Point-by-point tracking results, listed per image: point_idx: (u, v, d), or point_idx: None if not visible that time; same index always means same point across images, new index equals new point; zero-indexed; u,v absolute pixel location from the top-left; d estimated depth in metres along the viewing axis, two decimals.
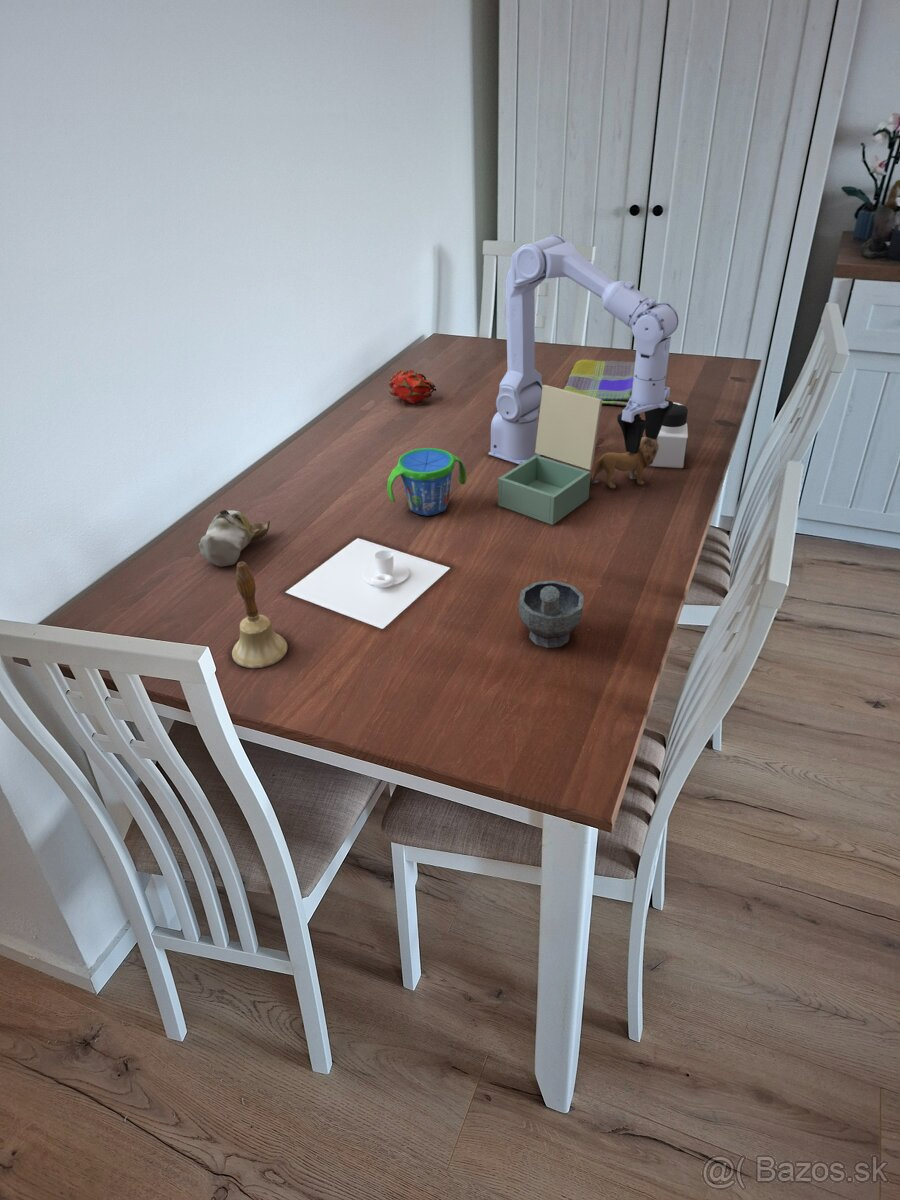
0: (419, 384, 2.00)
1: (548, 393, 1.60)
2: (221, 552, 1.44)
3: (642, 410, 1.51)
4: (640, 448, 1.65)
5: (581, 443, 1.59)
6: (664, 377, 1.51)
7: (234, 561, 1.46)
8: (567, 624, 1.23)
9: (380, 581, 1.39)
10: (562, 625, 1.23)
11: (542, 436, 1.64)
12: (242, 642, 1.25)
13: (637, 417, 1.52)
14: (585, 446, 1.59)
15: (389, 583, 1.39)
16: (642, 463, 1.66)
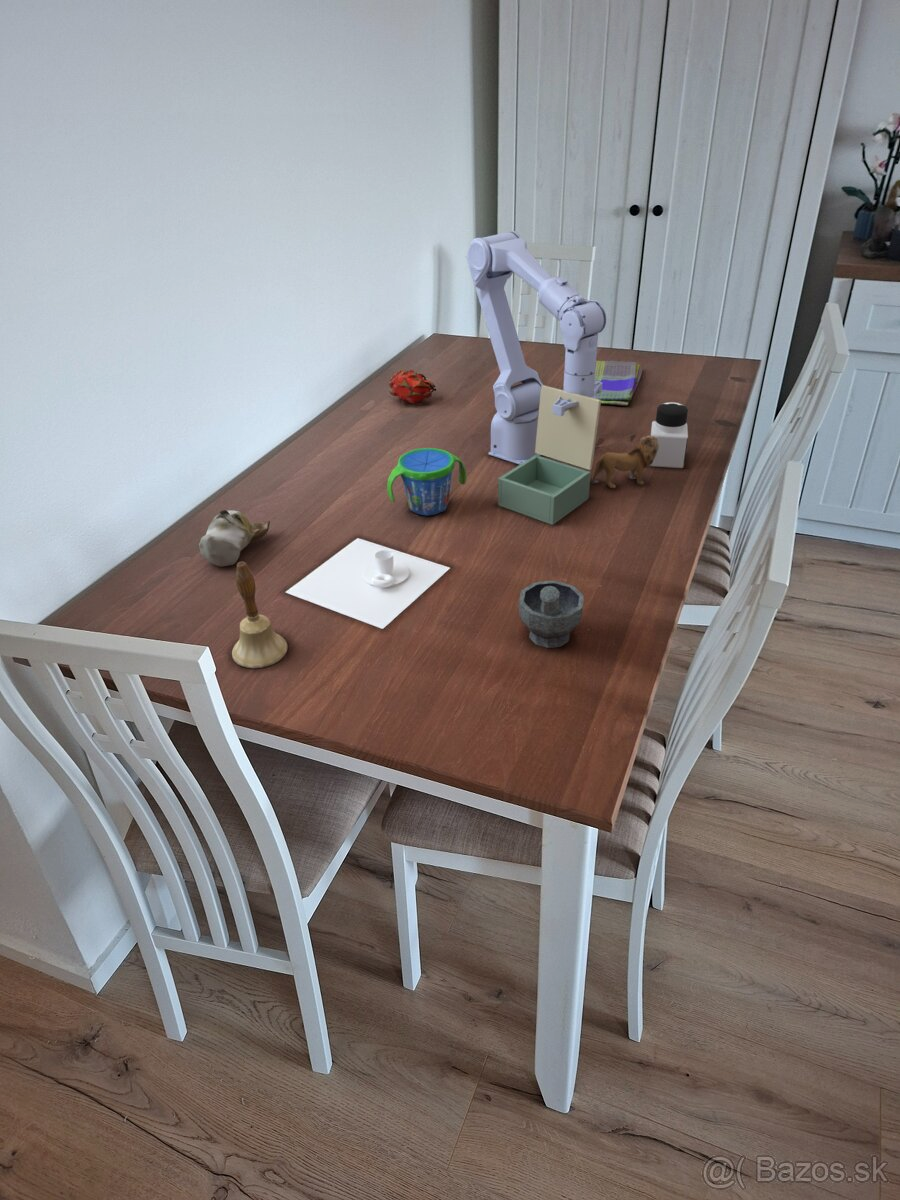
0: (419, 384, 2.00)
1: (547, 394, 1.60)
2: (221, 553, 1.44)
3: (572, 404, 1.56)
4: (640, 448, 1.65)
5: (580, 443, 1.59)
6: (593, 372, 1.55)
7: (234, 561, 1.46)
8: (567, 624, 1.23)
9: (380, 581, 1.39)
10: (562, 625, 1.23)
11: (542, 436, 1.64)
12: (242, 642, 1.25)
13: None
14: (585, 446, 1.59)
15: (389, 583, 1.39)
16: (642, 463, 1.66)
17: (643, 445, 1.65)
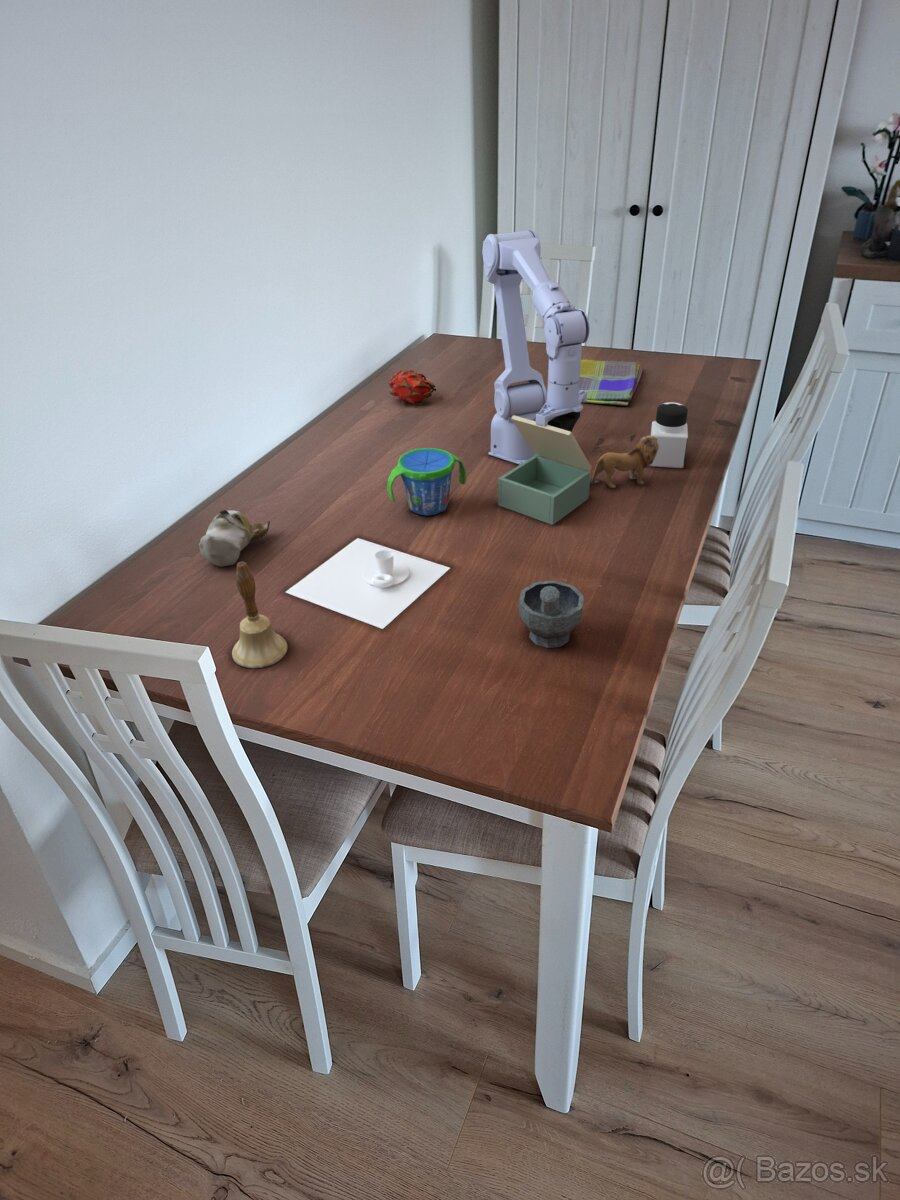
0: (419, 384, 2.00)
1: (520, 423, 1.56)
2: (221, 552, 1.44)
3: (556, 414, 1.52)
4: (640, 448, 1.65)
5: (571, 456, 1.58)
6: (577, 381, 1.52)
7: (234, 561, 1.46)
8: (567, 624, 1.23)
9: (380, 581, 1.39)
10: (562, 625, 1.23)
11: (534, 446, 1.63)
12: (242, 642, 1.25)
13: (562, 415, 1.56)
14: (576, 458, 1.58)
15: (389, 583, 1.39)
16: (642, 463, 1.66)
17: (643, 445, 1.65)
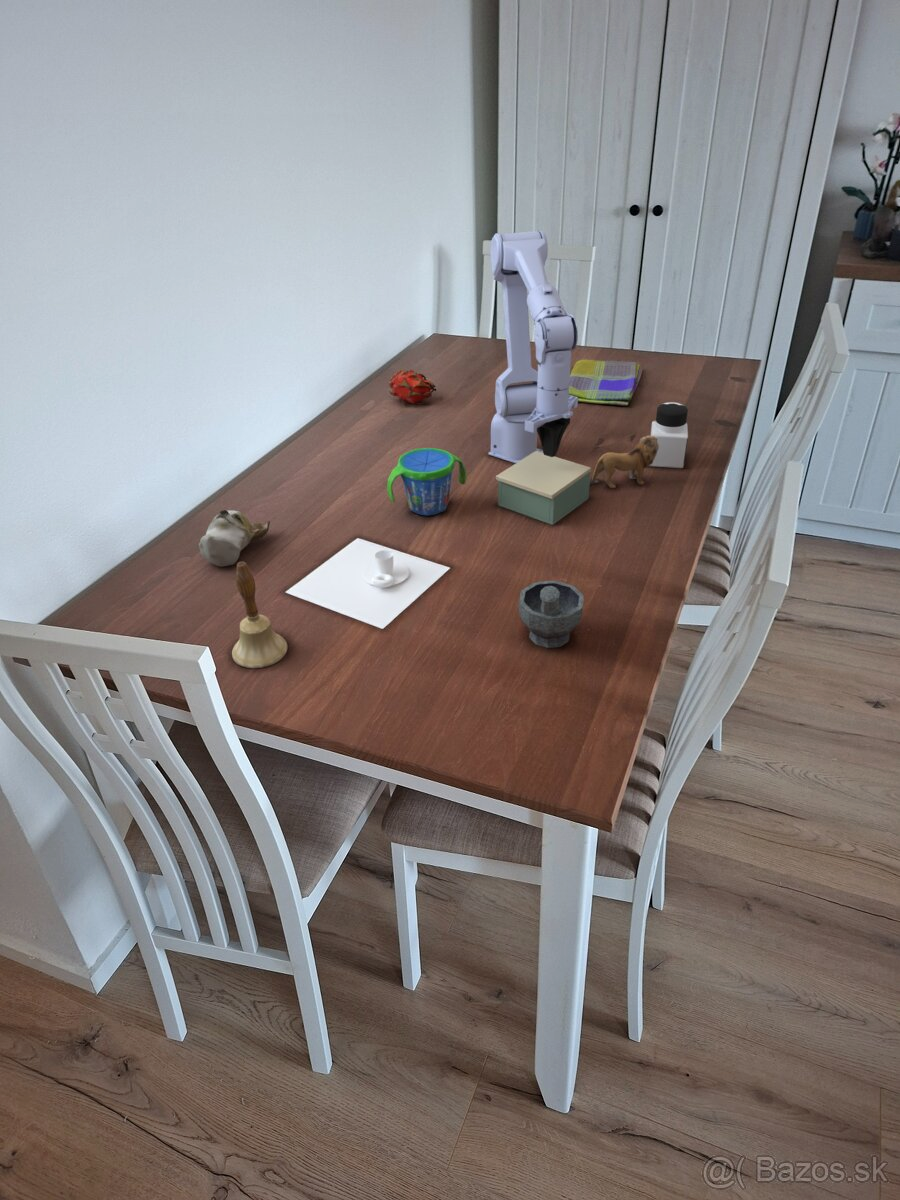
0: (419, 384, 2.00)
1: None
2: (221, 552, 1.44)
3: (545, 420, 1.50)
4: (640, 448, 1.65)
5: None
6: (567, 387, 1.50)
7: (234, 561, 1.46)
8: (567, 624, 1.23)
9: (380, 581, 1.39)
10: (562, 625, 1.23)
11: None
12: (242, 642, 1.25)
13: (551, 421, 1.54)
14: None
15: (389, 583, 1.39)
16: (642, 463, 1.66)
17: (643, 445, 1.65)
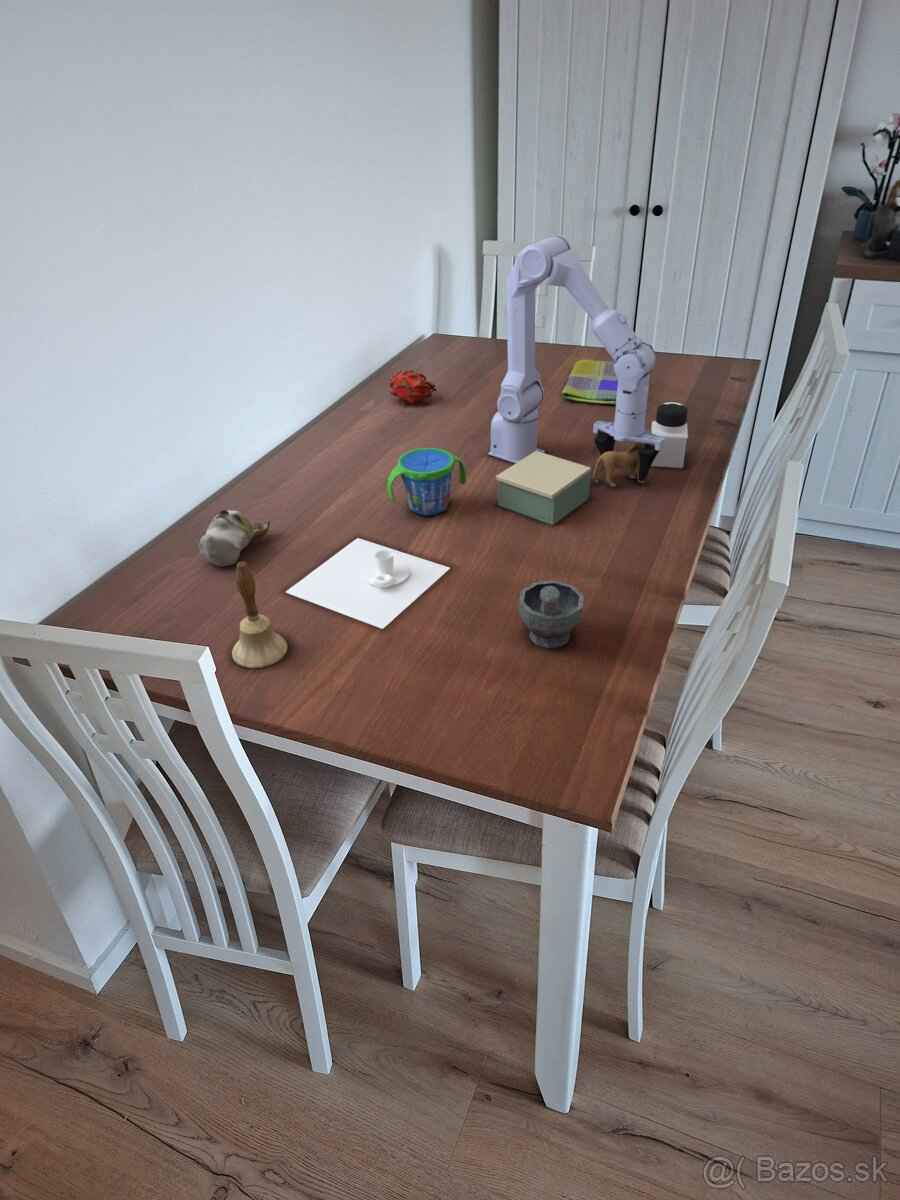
0: (419, 384, 2.00)
1: None
2: (220, 553, 1.44)
3: (603, 429, 1.65)
4: (639, 446, 1.65)
5: None
6: (624, 413, 1.59)
7: (234, 561, 1.46)
8: (567, 624, 1.23)
9: (380, 581, 1.39)
10: (562, 625, 1.23)
11: None
12: (242, 642, 1.25)
13: (603, 434, 1.66)
14: None
15: (389, 583, 1.39)
16: None
17: None
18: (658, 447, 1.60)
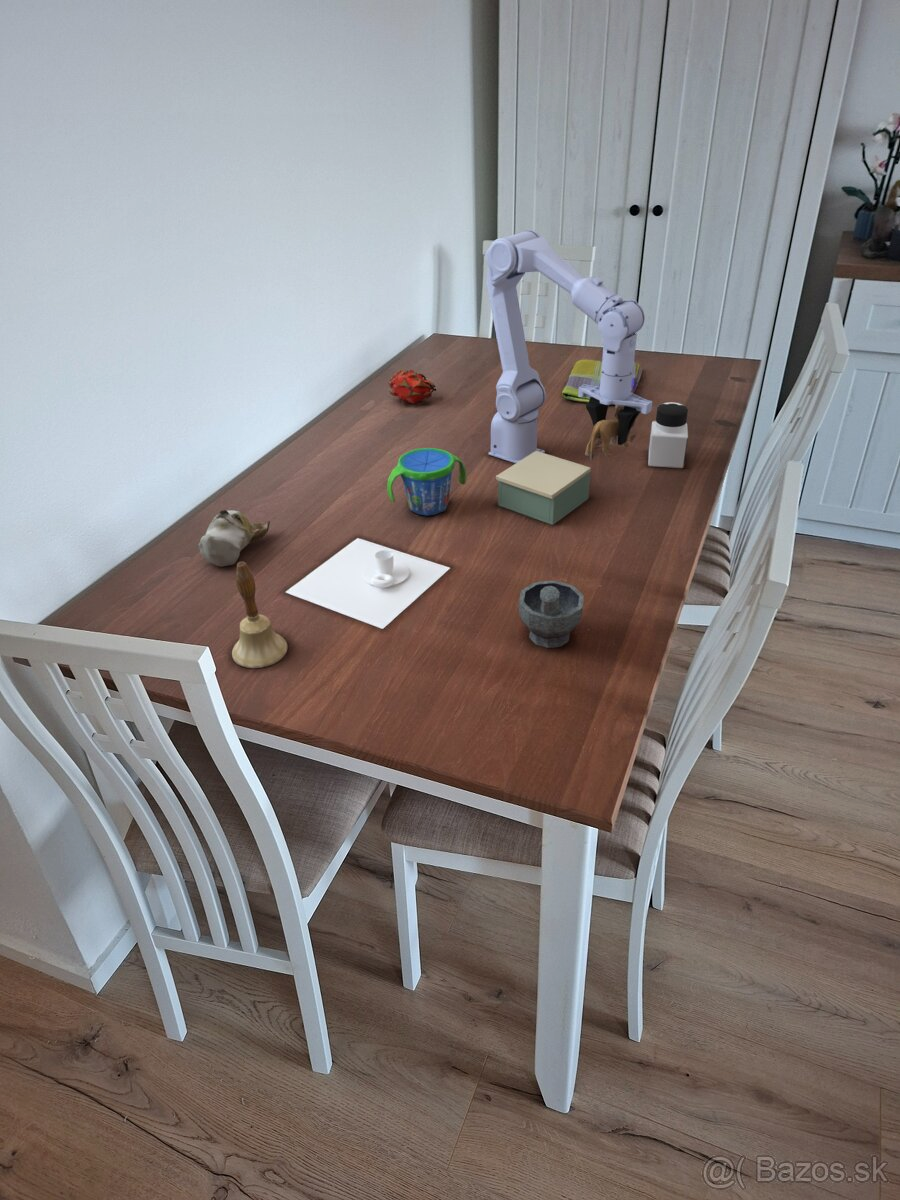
0: (419, 384, 2.00)
1: None
2: (220, 552, 1.44)
3: (589, 393, 1.59)
4: None
5: None
6: (610, 375, 1.53)
7: (234, 561, 1.46)
8: (567, 624, 1.23)
9: (380, 581, 1.39)
10: (562, 625, 1.23)
11: None
12: (242, 642, 1.25)
13: (596, 400, 1.60)
14: None
15: (389, 583, 1.39)
16: None
17: None
18: (645, 411, 1.54)
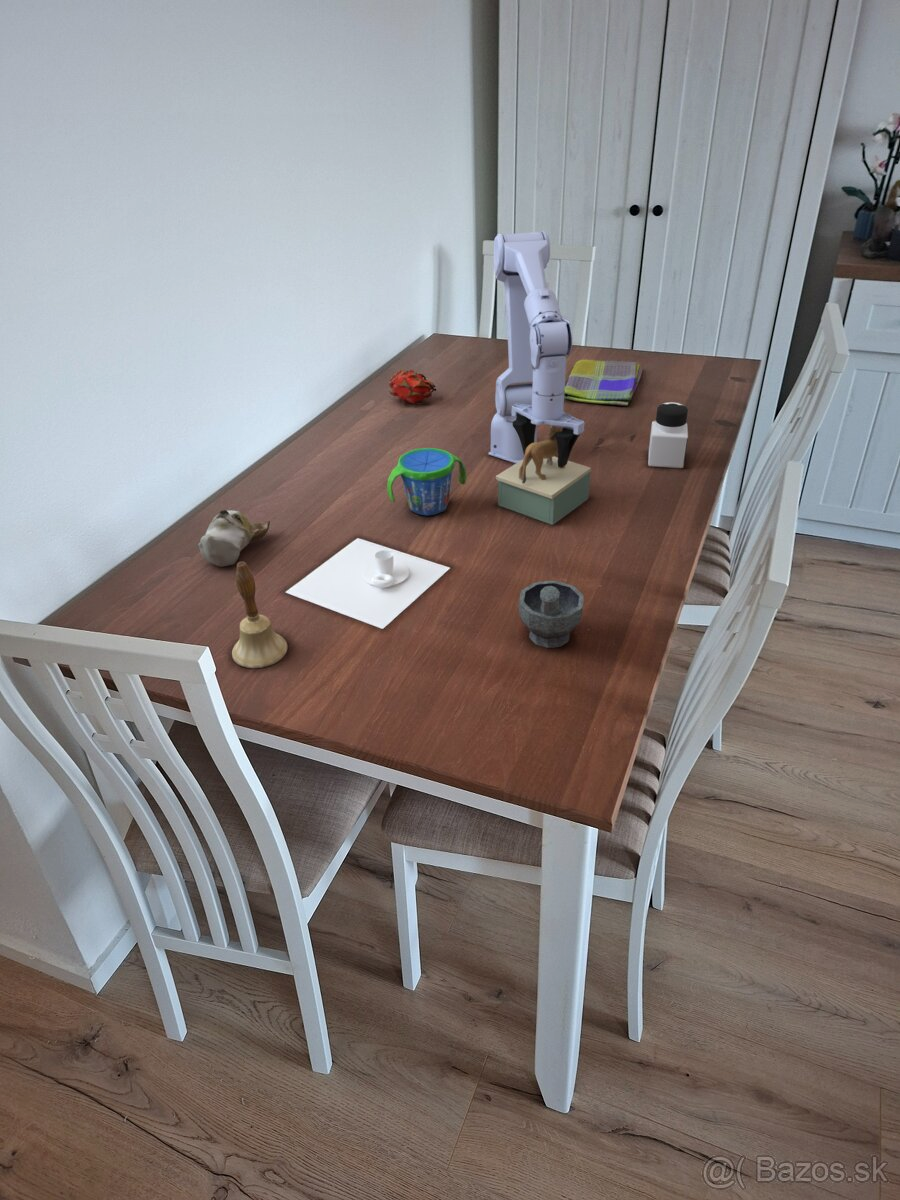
0: (419, 384, 2.00)
1: None
2: (220, 552, 1.44)
3: (521, 412, 1.55)
4: (559, 431, 1.56)
5: None
6: (540, 394, 1.49)
7: (234, 561, 1.46)
8: (567, 624, 1.23)
9: (380, 581, 1.39)
10: (562, 625, 1.23)
11: None
12: (242, 642, 1.25)
13: (522, 418, 1.56)
14: None
15: (389, 583, 1.39)
16: None
17: None
18: (577, 431, 1.50)
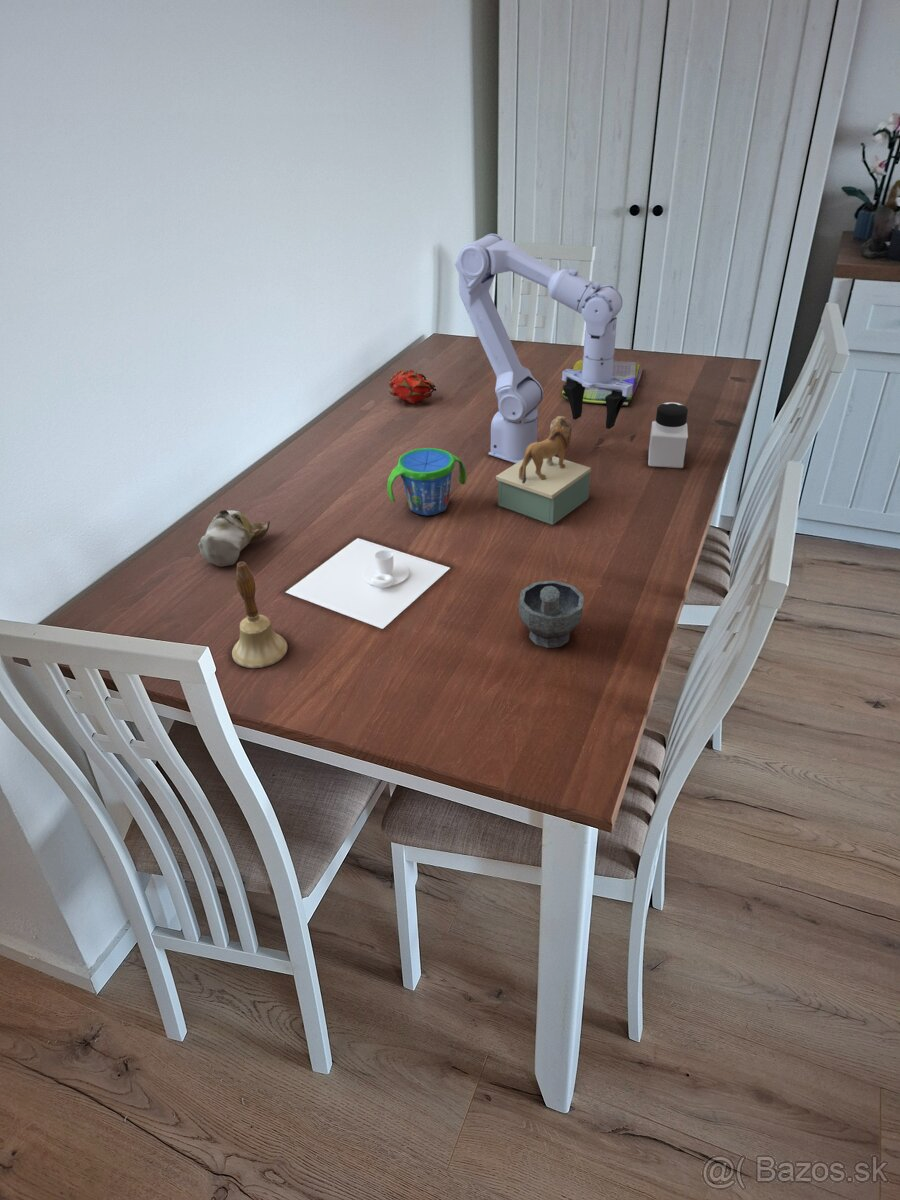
0: (419, 384, 2.00)
1: None
2: (220, 552, 1.44)
3: (572, 377, 1.64)
4: (559, 431, 1.56)
5: None
6: (591, 358, 1.58)
7: (234, 561, 1.46)
8: (567, 624, 1.23)
9: (380, 581, 1.39)
10: (562, 625, 1.23)
11: None
12: (242, 642, 1.25)
13: (572, 382, 1.66)
14: None
15: (389, 583, 1.39)
16: (564, 445, 1.58)
17: (560, 427, 1.57)
18: (625, 393, 1.59)
